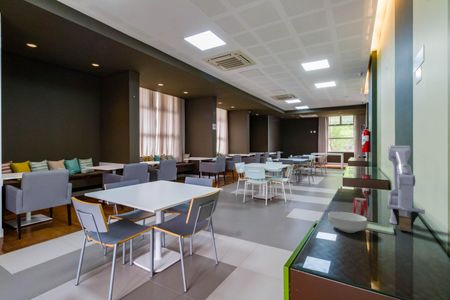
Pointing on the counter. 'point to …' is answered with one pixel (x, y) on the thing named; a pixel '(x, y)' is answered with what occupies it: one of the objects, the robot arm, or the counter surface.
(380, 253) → the counter surface
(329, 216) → the cereal bowl
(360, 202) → the soda can
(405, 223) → the walnut block
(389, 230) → the tray
